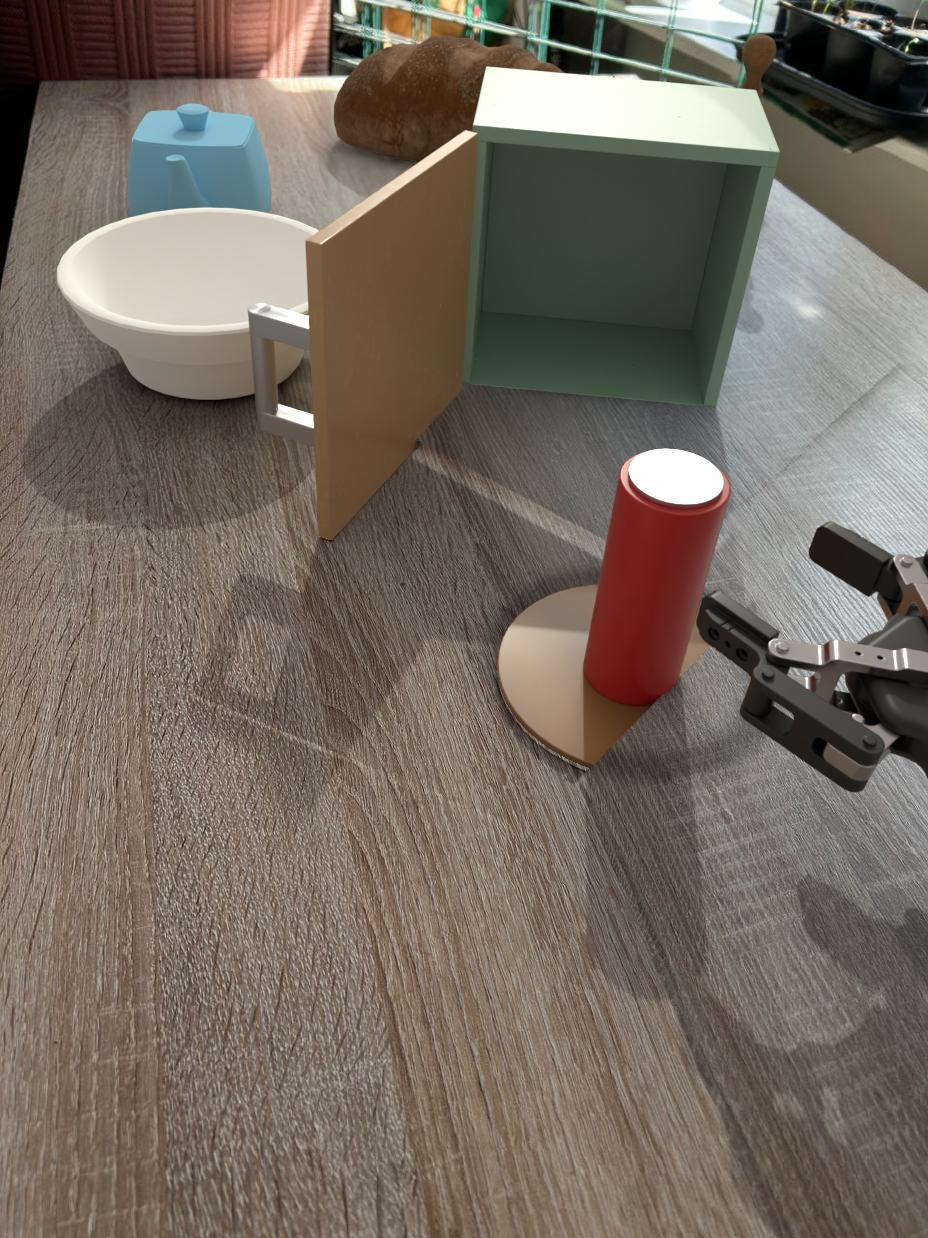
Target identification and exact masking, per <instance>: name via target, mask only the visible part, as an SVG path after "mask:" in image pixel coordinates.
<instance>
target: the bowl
mask: <svg viewBox="0 0 928 1238" xmlns="http://www.w3.org/2000/svg"><path fill="white" fill-rule="evenodd" d="M319 231H320V230H318V229H317V228H314V227H313V226H310V225H308V224H305V223H303V222H301V221H299V220H295V219H292V218H288V217H286V216H283V215H282V216H281V215H279V214H275V213H264V212H259V211H253V210H243V209H233V208H186V209H174V210H167V211H159V212H152V213H148V214H143V215H139V216H134V217H130V216H129V217H126V218H124V219H120V220H118V221H114V222H111V223H108V224H106V225H104V226H102V227H99V228H97V229H95V230H92V231H91V232H88V233H87V234H86V235H84V236H83V237H81V238H79V239H78V240H77V241H75V242H74V243H73V244H71V246H70V247H69V248H68V249H67V250H66V251H65V253H63V255H62V256H61V259H60V260H59V263H58V265H57V268H56V284H57V286H58V289H59V290H60V293H61V294H62V296H63V298H65V300H66V301H67V303H68V304H69V305H70V307H71V308H72V309H73V311H74V312H75V313H76V315H77V316H78V318H79V319H80V320H81V321H82V323H83V324H84V325H85V326H86V328H87V329H88V331H89V332H91V333H92V334H93V335H94V336H95V337H96V338H97V339H98V340H99V341H101V342H102V343H104V344H106V345H107V346H109V347H111V348H112V349H115V350H116V351H118V354H119V356H120V357H121V359H122V360H123V363H124V365H125V366H126V369H127V370H128V372H129V374H130V375H131V376H132V377H133V378H134V379H136V381H137V382H138V383H140V384H142V385H143V386H145V387H146V388H148V389H150V390H153V391H155V392H159V393H161V394H163V395H167V396H172V397H176V398H181V399H191V400H205V401H206V400H207V401H208V400H211V401H212V400H213V401H214V400H217V401H218V400H226V399H236V398H241V397H245V396H251V395H255V390H254V378H253V367H252V355H251V344H250V332H249V321H248V307H249V306H250V305H252V304H256V303H264V304H268V305H271V306H275V307H278V308H282V309H285V310H289V311H293V312H296V313H300V314H303V315H307V316H309V313H308V291H307V269H306V247H305V241H306V240H307V239H308V238H310V237H311V236H313V235H314V234H316V233H317V232H319ZM274 345H275V360H276V374H277V385H279V384H281V383H282V382H284V381H285V380H287V379H288V378H290V377H291V376H292V374H293V373H294V371H295V370H297V368H298V367H299V366H300V364H301V362H302V359H303V357H304V354H305V351H306V350H304V349H301V348H298V347H294V346H291V345H287V344H284V343H281V342H277V341H274Z"/></svg>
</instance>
